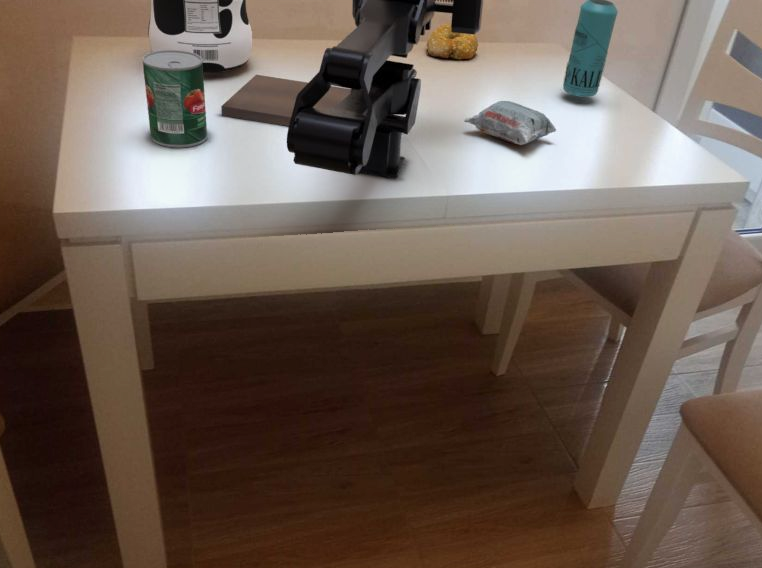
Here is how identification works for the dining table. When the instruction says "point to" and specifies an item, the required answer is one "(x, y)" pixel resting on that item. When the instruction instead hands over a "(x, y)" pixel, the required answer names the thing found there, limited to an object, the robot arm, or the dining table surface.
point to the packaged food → (512, 122)
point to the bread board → (274, 100)
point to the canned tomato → (175, 98)
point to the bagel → (451, 43)
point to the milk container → (203, 31)
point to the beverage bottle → (590, 47)
